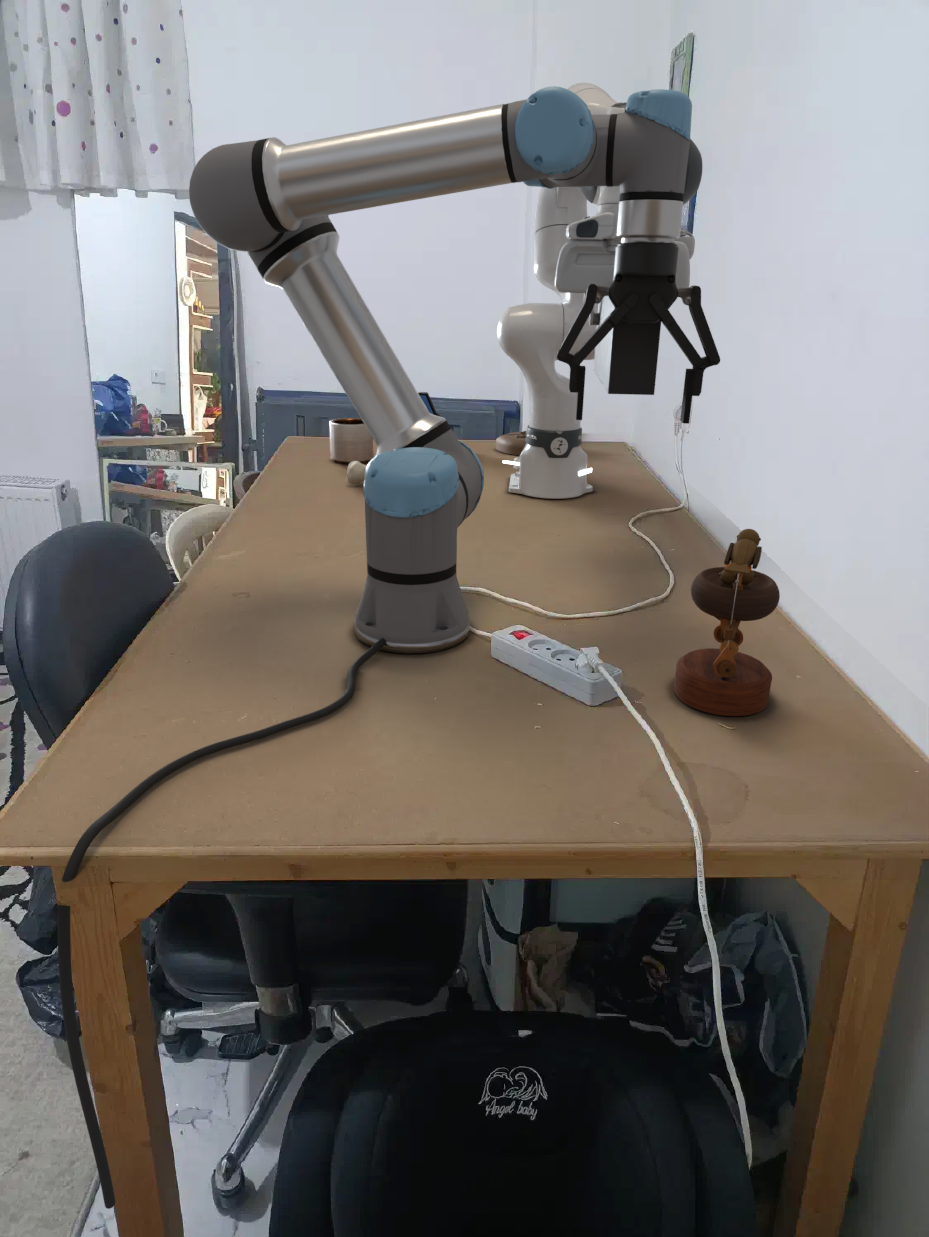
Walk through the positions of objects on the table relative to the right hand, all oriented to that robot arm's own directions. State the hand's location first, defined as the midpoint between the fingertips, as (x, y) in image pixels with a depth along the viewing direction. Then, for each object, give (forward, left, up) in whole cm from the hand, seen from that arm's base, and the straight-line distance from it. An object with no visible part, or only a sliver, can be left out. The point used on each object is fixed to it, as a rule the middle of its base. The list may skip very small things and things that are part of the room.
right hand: (617, 325), depth 131 cm
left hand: (+26, -5, -10) cm, 29 cm away
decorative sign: (-92, -25, -37) cm, 102 cm away
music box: (+51, +1, -37) cm, 64 cm away
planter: (-80, -43, -37) cm, 98 cm away
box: (+10, -2, -7) cm, 12 cm away
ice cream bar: (-86, +5, -37) cm, 94 cm away
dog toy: (-54, -34, -37) cm, 74 cm away
